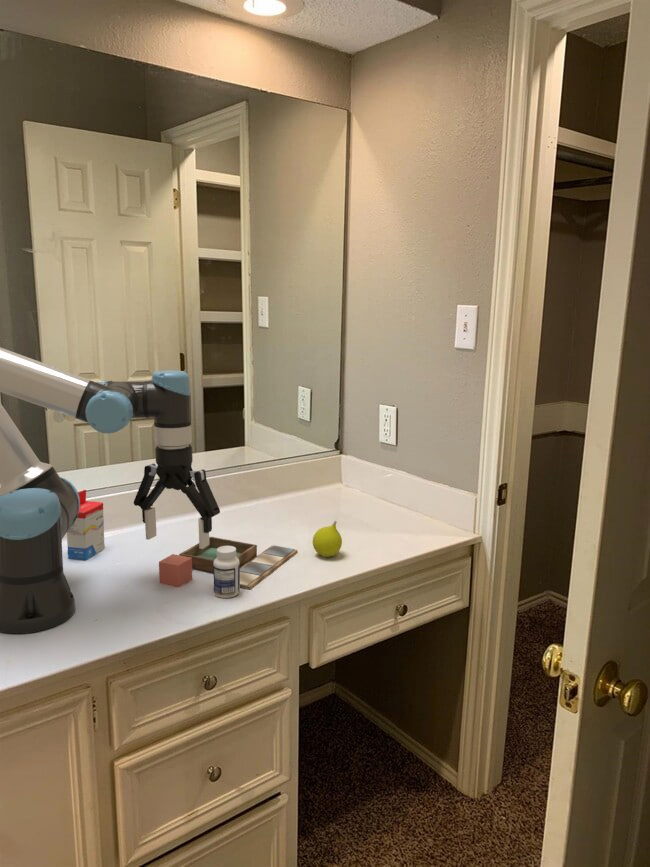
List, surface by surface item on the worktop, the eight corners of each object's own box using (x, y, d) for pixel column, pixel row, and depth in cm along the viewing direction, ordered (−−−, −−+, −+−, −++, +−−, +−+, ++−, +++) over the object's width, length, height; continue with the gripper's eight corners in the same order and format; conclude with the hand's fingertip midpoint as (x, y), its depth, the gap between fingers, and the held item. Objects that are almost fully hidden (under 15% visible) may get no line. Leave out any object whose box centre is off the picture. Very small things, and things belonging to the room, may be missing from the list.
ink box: (86, 561, 152) (83, 500, 149) (67, 558, 153) (64, 498, 150) (105, 548, 160) (103, 490, 157) (87, 546, 161) (84, 488, 158)
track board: (249, 589, 139) (249, 586, 139) (221, 583, 141) (221, 580, 141) (297, 552, 160) (297, 549, 160) (272, 547, 163) (272, 544, 163)
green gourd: (346, 558, 157) (348, 518, 156) (320, 563, 154) (321, 522, 152) (332, 548, 164) (334, 510, 162) (307, 552, 160) (308, 513, 159)
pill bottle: (224, 585, 140) (224, 542, 139) (244, 591, 138) (244, 547, 136) (208, 594, 136) (207, 550, 134) (229, 600, 133) (229, 555, 131)
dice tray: (228, 576, 145) (228, 563, 145) (179, 566, 150) (179, 554, 149) (256, 556, 157) (256, 545, 156) (210, 548, 162) (210, 536, 161)
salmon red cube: (178, 587, 139) (178, 565, 138) (159, 583, 141) (158, 561, 140) (192, 579, 143) (192, 557, 143) (173, 575, 145) (172, 553, 144)
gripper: (234, 447, 135) (236, 544, 139) (136, 437, 145) (141, 528, 149) (215, 454, 128) (218, 556, 132) (113, 443, 138) (118, 539, 142)
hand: (177, 542), depth 141 cm, fingers open, 13 cm apart
